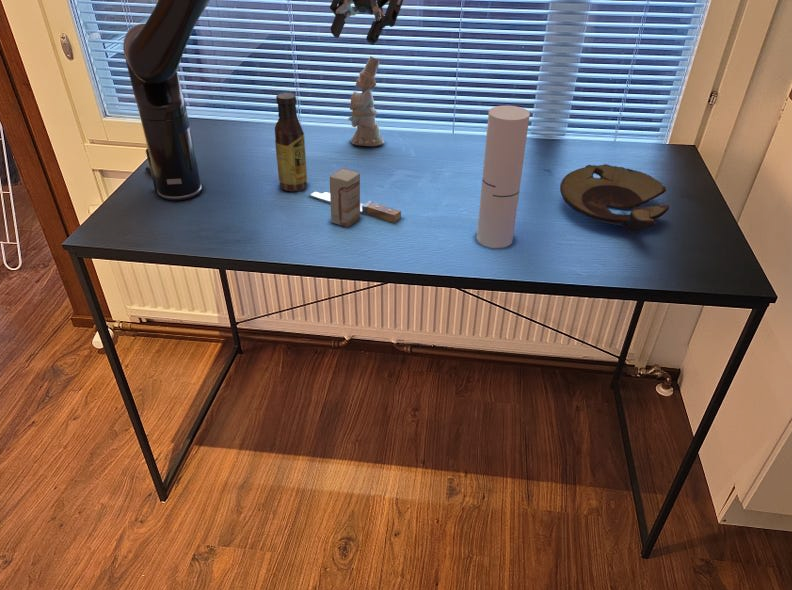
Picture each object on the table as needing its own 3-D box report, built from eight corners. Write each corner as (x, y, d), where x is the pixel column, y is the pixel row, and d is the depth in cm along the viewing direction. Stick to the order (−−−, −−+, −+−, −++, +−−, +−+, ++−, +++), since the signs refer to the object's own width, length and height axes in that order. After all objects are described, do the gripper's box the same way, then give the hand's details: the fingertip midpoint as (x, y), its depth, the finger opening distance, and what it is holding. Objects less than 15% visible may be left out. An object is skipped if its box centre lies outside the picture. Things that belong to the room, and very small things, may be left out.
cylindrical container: (489, 226, 136) (503, 102, 120) (519, 238, 132) (537, 111, 116) (469, 239, 132) (480, 113, 116) (499, 252, 128) (515, 123, 112)
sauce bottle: (302, 194, 146) (294, 102, 133) (275, 191, 147) (265, 100, 134) (311, 181, 151) (304, 92, 138) (285, 179, 152) (276, 89, 139)
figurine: (383, 135, 172) (382, 54, 159) (384, 148, 166) (384, 64, 153) (349, 136, 172) (345, 54, 159) (349, 149, 165) (345, 64, 152)
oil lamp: (662, 193, 149) (671, 160, 144) (666, 260, 127) (678, 224, 122) (561, 180, 153) (567, 148, 148) (548, 243, 131) (555, 208, 126)
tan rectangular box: (348, 228, 135) (346, 181, 128) (330, 222, 136) (327, 176, 130) (362, 217, 138) (360, 171, 132) (344, 212, 140) (342, 167, 133)
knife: (309, 197, 145) (308, 188, 144) (318, 191, 147) (318, 183, 146) (393, 224, 136) (393, 215, 135) (401, 218, 138) (402, 209, 137)
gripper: (346, -55, 130) (313, 21, 130) (407, -47, 124) (374, 32, 124) (362, -28, 137) (331, 44, 137) (421, -20, 131) (389, 56, 131)
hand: (351, 38), depth 130 cm, fingers open, 8 cm apart
